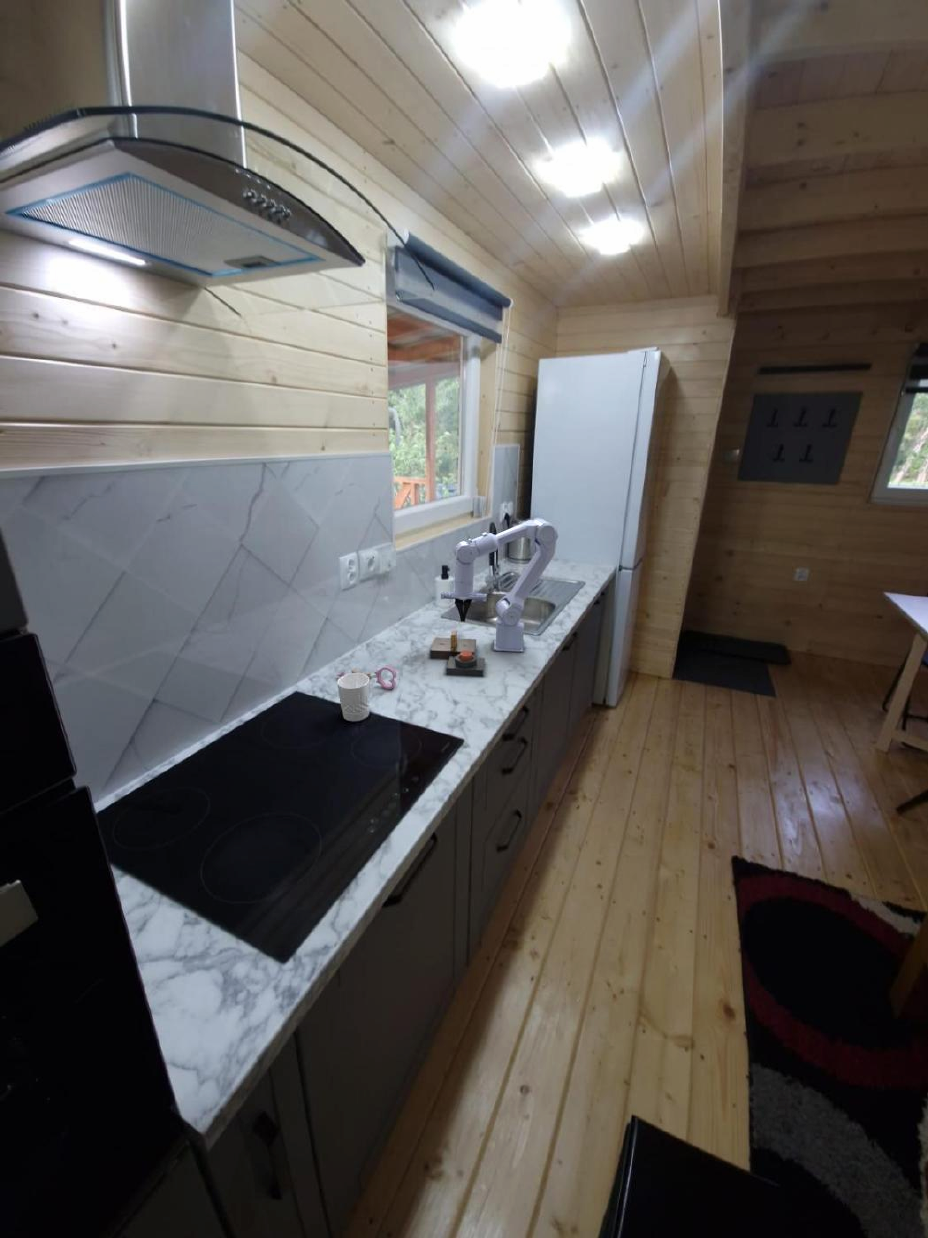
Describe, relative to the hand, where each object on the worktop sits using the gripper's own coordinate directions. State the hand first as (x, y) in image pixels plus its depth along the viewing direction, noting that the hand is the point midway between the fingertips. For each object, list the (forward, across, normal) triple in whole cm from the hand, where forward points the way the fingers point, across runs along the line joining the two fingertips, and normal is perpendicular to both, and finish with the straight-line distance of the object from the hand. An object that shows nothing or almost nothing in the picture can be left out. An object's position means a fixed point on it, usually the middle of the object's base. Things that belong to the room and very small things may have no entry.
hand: (462, 620), depth 161 cm
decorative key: (+11, -26, -26) cm, 38 cm away
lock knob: (+7, -3, -3) cm, 8 cm away
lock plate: (+10, -2, -3) cm, 11 cm away
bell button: (+7, +2, -14) cm, 16 cm away
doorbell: (+10, +2, -14) cm, 17 cm away
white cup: (+11, -24, -42) cm, 49 cm away
